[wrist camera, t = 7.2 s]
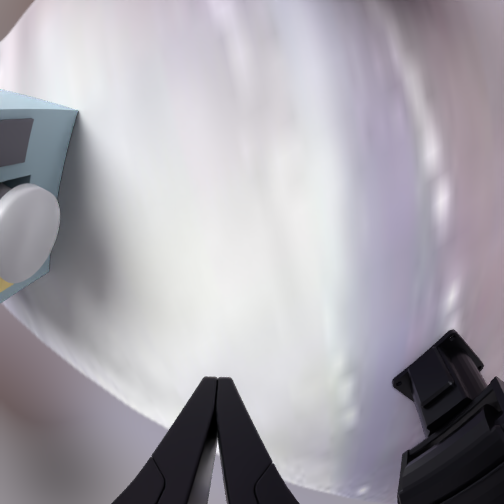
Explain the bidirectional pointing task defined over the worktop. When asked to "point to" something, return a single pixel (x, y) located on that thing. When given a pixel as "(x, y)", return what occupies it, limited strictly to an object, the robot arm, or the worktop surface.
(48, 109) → the socket block
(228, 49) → the worktop surface
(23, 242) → the plug
